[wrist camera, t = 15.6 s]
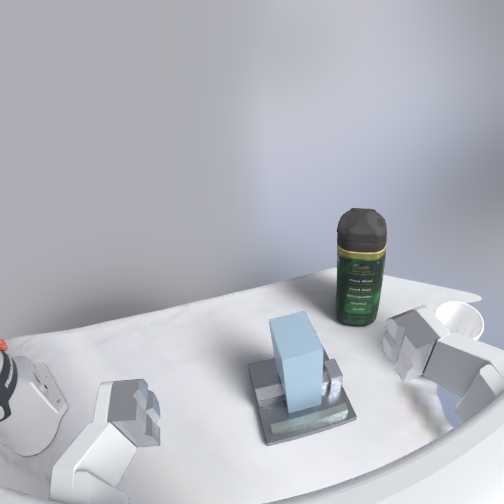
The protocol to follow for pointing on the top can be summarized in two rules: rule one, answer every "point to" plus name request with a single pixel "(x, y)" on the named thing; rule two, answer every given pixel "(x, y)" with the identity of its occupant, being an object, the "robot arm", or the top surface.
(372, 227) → the coffee jar
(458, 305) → the white cup
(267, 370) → the rail plate
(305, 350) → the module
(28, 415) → the robot arm
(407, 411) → the top surface
